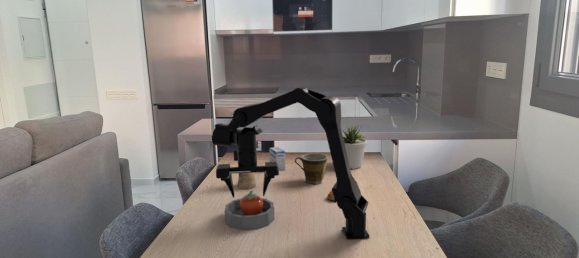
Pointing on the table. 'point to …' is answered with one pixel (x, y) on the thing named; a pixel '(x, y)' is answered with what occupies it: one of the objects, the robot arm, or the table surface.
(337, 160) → the robot arm
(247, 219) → the bowl
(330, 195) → the pastry
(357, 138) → the potted plant
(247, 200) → the tomato
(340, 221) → the table surface
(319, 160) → the ceramic cup
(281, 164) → the medicine box
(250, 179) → the figurine
